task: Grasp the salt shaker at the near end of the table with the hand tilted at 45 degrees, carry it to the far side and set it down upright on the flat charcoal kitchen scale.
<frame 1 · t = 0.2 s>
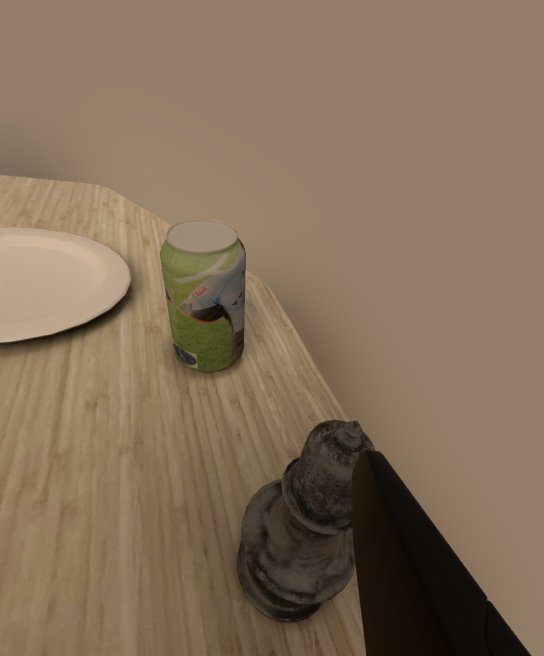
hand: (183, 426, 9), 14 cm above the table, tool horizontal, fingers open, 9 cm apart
plate: (15, 288, 35), on the table
beverage can: (200, 358, 32), on the table
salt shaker: (283, 564, 20), on the table
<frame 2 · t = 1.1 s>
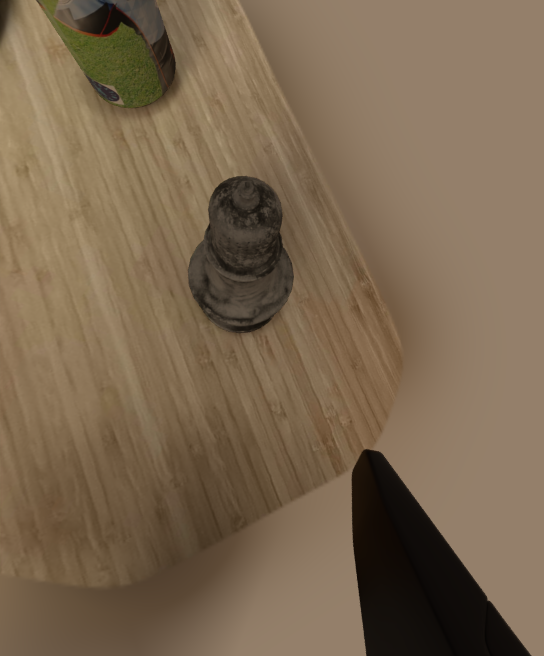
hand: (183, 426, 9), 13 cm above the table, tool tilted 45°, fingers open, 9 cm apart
beverage can: (128, 88, 26), on the table
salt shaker: (240, 294, 24), on the table
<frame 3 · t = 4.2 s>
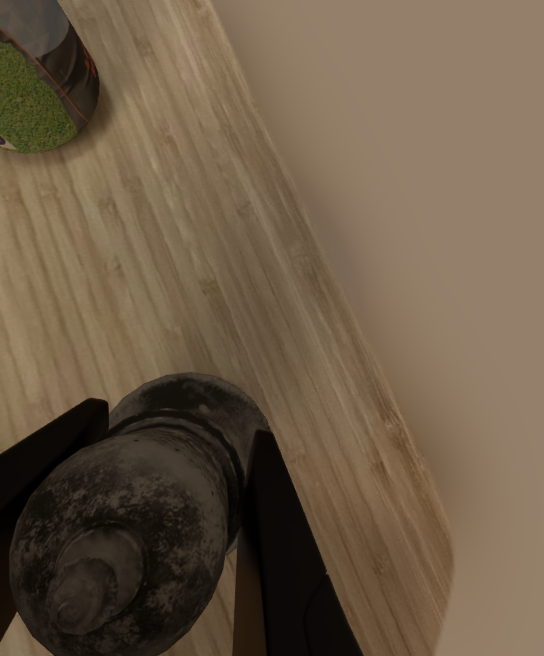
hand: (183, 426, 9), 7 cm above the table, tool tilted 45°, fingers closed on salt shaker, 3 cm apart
beverage can: (33, 119, 17), on the table
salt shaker: (196, 451, 15), on the table, touching gripper
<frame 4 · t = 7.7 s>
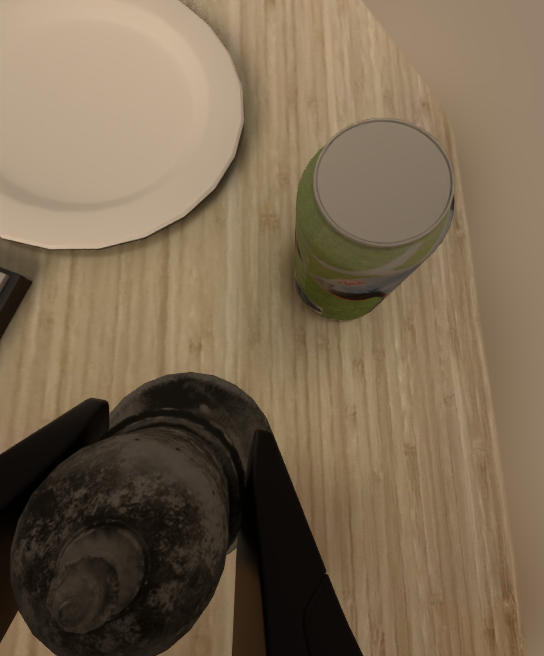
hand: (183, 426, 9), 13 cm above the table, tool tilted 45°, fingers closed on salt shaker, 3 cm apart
plate: (92, 118, 25), on the table
beverage can: (325, 282, 24), on the table
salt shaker: (197, 451, 15), point 6 cm above the table, touching gripper
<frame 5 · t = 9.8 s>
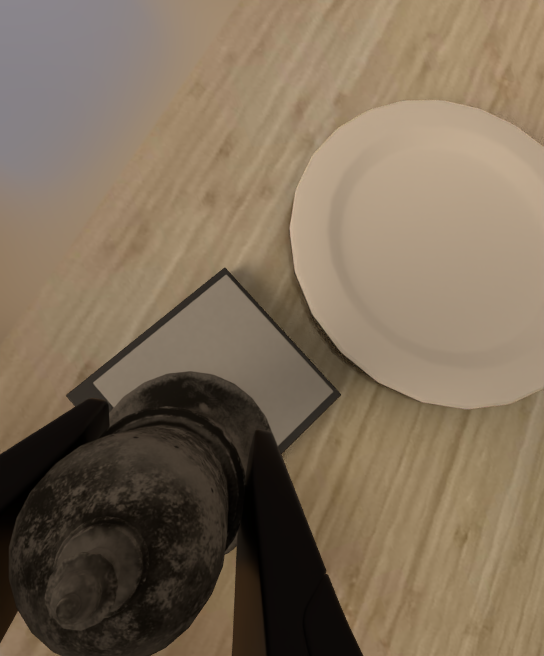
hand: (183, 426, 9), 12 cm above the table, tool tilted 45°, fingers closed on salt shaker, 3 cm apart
plate: (438, 251, 25), on the table
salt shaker: (196, 450, 15), point 6 cm above the table, touching gripper
scale: (210, 395, 21), on the table
when the fingers open (8 cm above the table, at t = 11.3 s): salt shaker stays where it is, resting on scale.
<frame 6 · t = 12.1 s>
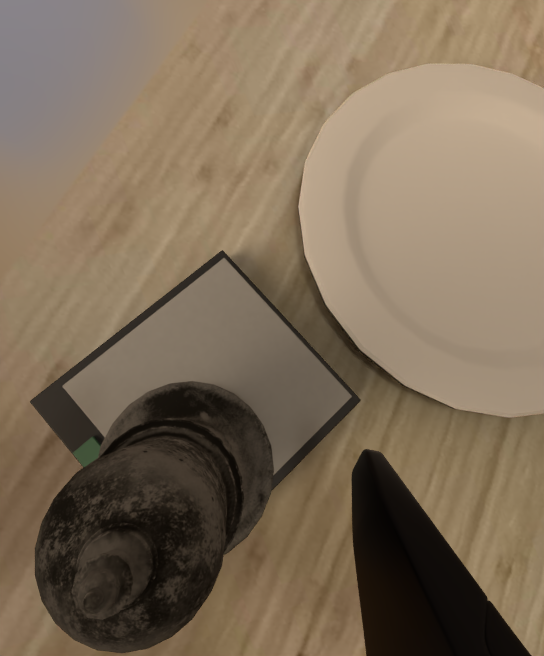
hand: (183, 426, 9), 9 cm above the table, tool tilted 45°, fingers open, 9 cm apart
plate: (467, 234, 21), on the table
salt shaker: (197, 454, 16), point 1 cm above the table, touching scale
scale: (204, 401, 18), on the table
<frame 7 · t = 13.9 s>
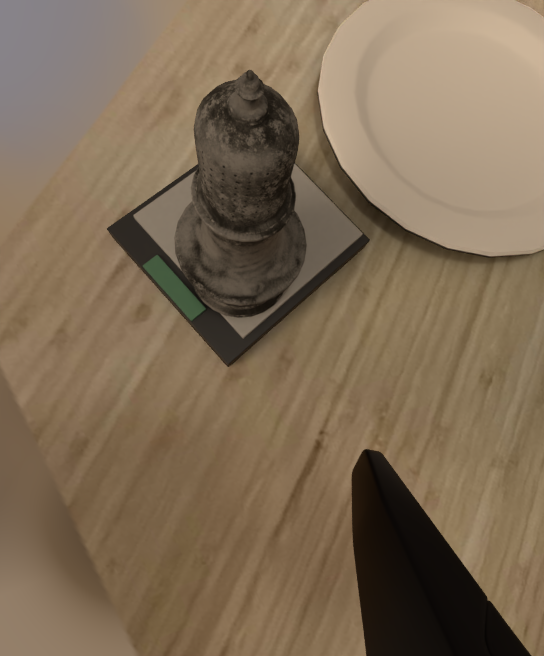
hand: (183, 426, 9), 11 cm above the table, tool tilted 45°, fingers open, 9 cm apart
plate: (458, 126, 25), on the table
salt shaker: (240, 271, 20), point 1 cm above the table, touching scale
scale: (242, 243, 22), on the table
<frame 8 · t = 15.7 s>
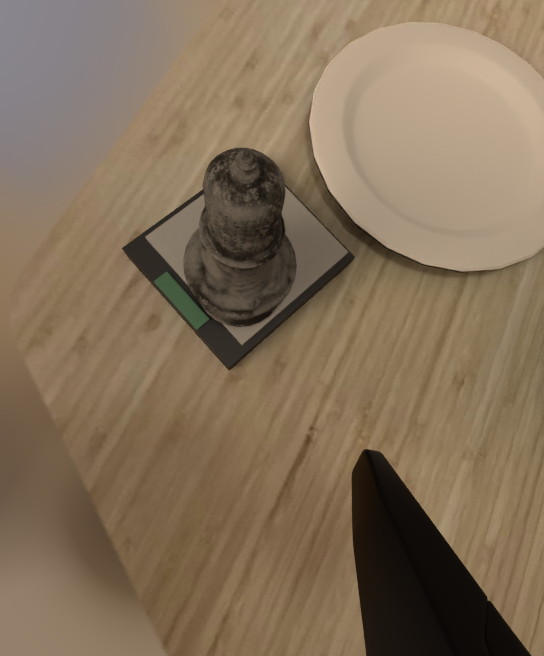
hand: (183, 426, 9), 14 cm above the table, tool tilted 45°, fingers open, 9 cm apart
plate: (437, 152, 28), on the table
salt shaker: (239, 286, 22), point 1 cm above the table, touching scale
scale: (241, 260, 24), on the table
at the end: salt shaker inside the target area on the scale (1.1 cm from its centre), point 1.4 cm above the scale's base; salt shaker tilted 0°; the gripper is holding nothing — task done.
